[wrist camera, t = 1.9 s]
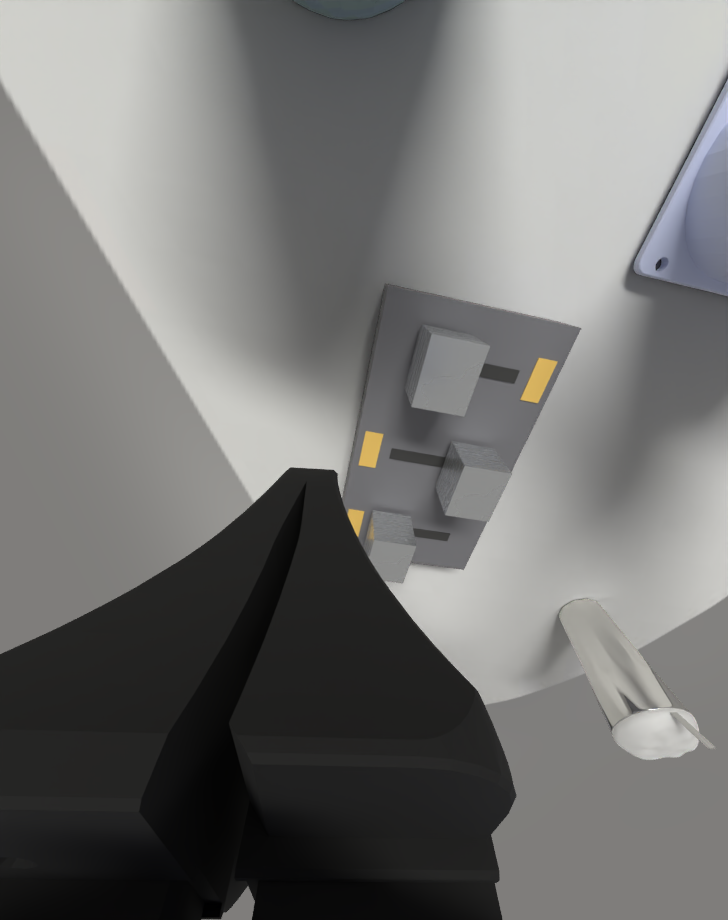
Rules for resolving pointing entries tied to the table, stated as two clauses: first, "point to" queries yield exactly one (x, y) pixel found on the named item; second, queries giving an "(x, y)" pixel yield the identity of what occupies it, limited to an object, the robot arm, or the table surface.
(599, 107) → the table surface
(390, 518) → the knob
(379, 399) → the switch panel
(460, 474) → the knob
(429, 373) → the knob
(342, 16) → the teal plant pot
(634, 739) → the milkshake
